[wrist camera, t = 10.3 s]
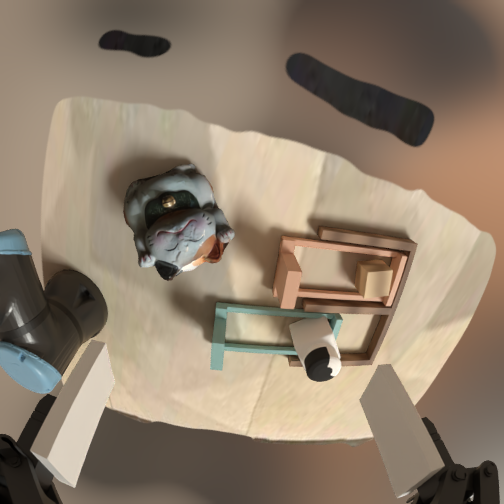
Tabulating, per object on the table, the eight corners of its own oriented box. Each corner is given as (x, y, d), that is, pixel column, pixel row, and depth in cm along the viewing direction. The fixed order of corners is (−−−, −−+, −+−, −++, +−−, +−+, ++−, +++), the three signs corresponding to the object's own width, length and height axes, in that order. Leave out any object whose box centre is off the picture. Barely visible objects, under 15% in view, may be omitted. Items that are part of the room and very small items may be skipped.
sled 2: (213, 345, 53) (209, 377, 45) (216, 302, 50) (212, 332, 41) (324, 351, 55) (335, 381, 47) (338, 311, 52) (353, 339, 43)
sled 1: (272, 291, 49) (278, 320, 41) (281, 235, 46) (290, 256, 37) (384, 298, 51) (404, 323, 43) (399, 250, 48) (424, 270, 39)
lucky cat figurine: (213, 157, 41) (242, 205, 32) (217, 219, 50) (243, 276, 40) (117, 177, 37) (112, 234, 28) (134, 238, 46) (140, 301, 36)
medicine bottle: (299, 348, 55) (310, 391, 44) (288, 324, 53) (298, 366, 41) (331, 336, 54) (348, 376, 43) (323, 310, 52) (341, 350, 41)
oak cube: (354, 285, 50) (364, 298, 46) (357, 260, 48) (367, 272, 44) (377, 283, 50) (388, 295, 46) (380, 259, 49) (392, 270, 44)
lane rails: (287, 358, 56) (289, 366, 53) (319, 225, 46) (323, 230, 43) (368, 357, 57) (371, 364, 55) (410, 239, 47) (417, 244, 45)
